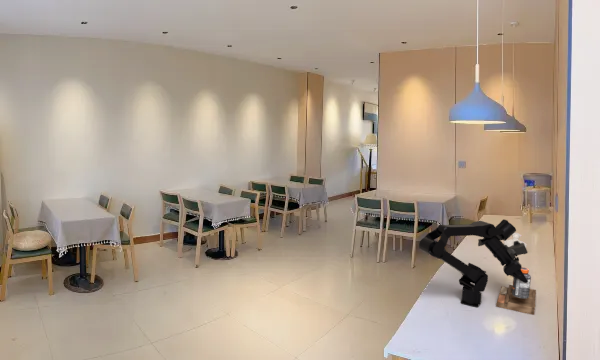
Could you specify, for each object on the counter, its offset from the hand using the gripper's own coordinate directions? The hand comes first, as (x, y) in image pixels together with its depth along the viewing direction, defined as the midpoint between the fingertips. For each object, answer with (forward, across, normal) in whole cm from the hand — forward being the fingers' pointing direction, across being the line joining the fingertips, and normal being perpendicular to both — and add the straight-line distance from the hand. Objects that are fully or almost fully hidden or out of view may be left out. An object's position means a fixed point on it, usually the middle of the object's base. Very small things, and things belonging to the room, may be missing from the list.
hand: (526, 279), depth 155 cm
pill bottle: (+4, 0, +6) cm, 7 cm away
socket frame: (+7, +6, +9) cm, 13 cm away
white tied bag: (+11, +90, +4) cm, 90 cm away
